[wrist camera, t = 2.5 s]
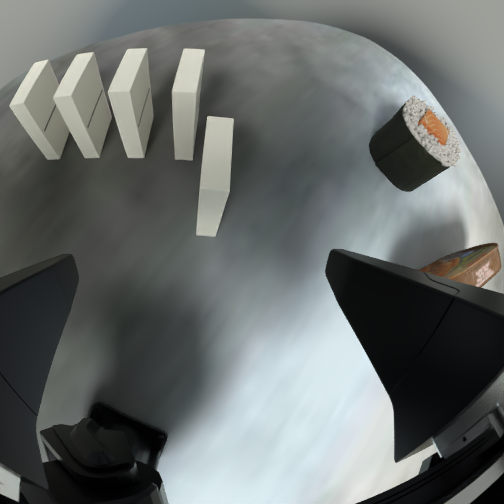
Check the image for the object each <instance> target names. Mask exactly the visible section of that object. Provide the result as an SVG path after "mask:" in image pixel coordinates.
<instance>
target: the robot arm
mask: <svg viewBox="0 0 504 504" xmlns="http://www.w3.org/2000/svg"><path fill="white" fill-rule="evenodd" d="M325 274H326V277H327V279H328V282H329V284H330V286H331V288H332V291H333V293H334V295H335V298H336V300H337V302H338V304H339V306H340V308H341V310H342V311H343V313H344V315H345V317H346V318H347V320H348V322H349V324H350V325H351V327H352V329H353V331H354V332H355V334H356V336H357V338H358V340H359V341H360V343H361V345H362V347H363V349H364V350H365V352H366V354H367V356H368V358H369V359H370V361H371V363H372V365H373V367H374V369H375V371H376V372H377V374H378V376H379V378H380V380H381V382H382V384H383V386H384V388H385V390H386V391H387V393H388V395H389V397H390V399H391V402H392V405H393V411H394V460H395V462H396V463H397V462H399V461H401V460H403V459H406V458H408V457H410V456H412V455H414V454H416V453H418V452H420V451H421V450H423V449H425V448H427V447H429V446H431V445H433V444H434V446H435V448H436V450H437V452H436V453H435V454H433V455H431V456H430V457H428V458H427V459H425V460H424V461H423V462H422V465H421V468H420V471H419V474H418V475H417V476H415V477H414V478H412V479H410V480H408V481H406V482H404V483H402V484H400V485H398V486H396V487H394V488H392V489H390V490H387V491H385V492H383V493H381V494H378V495H376V496H374V497H371V498H369V499H366V500H364V501H361V502H359V503H356V504H504V294H502V293H498V292H495V291H491V290H488V289H484V288H480V287H477V286H473V285H469V284H465V283H462V282H458V281H454V280H451V279H447V278H444V277H440V276H437V275H433V274H430V273H426V272H424V273H423V272H422V271H418V270H415V269H411V268H408V267H405V266H401V265H398V264H394V263H391V262H387V261H383V260H380V259H376V258H373V257H369V256H366V255H362V254H358V253H355V252H351V251H347V250H344V249H332V250H331V251H330V253H329V257H328V261H327V264H326V269H325ZM78 282H79V275H78V271H77V267H76V264H75V260H74V257H73V255H71V254H62V255H59V256H56V257H53V258H51V259H48V260H45V261H42V262H40V263H37V264H34V265H32V266H29V267H26V268H24V269H21V270H19V271H16V272H13V273H11V274H8V275H6V276H3V277H1V278H0V504H168V500H167V497H166V493H165V489H164V485H163V481H162V479H161V476H160V474H159V472H158V471H157V466H158V462H159V458H160V456H161V453H162V451H163V448H164V446H165V443H166V441H167V433H166V432H164V431H162V430H160V429H157V428H155V427H152V426H150V425H148V424H145V423H143V422H141V421H139V420H136V419H134V418H132V417H130V416H128V415H125V414H123V413H121V412H119V411H117V410H115V409H113V408H111V407H109V406H107V405H105V404H103V403H101V402H97V403H95V404H94V406H93V409H92V412H91V415H90V419H89V418H83V419H82V420H81V421H80V422H79V423H78V424H75V425H73V426H70V425H63V424H59V425H53V427H50V428H47V429H45V430H42V431H40V435H41V438H42V442H43V445H44V449H45V452H46V455H47V458H48V461H49V462H44V463H42V459H41V454H40V450H39V445H38V440H37V434H36V422H37V416H38V412H39V408H40V404H41V400H42V396H43V392H44V388H45V384H46V381H47V377H48V374H49V371H50V367H51V364H52V361H53V358H54V355H55V352H56V349H57V346H58V343H59V340H60V337H61V335H62V332H63V329H64V326H65V324H66V321H67V319H68V316H69V313H70V310H71V307H72V303H73V299H74V296H75V292H76V289H77V285H78ZM97 406H100V407H101V409H102V410H99V409H98V408H97ZM159 435H163V436H164V438H160V437H159Z"/></svg>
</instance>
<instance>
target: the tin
mask: <svg viewBox="0 0 504 504" xmlns="http://www.w3.org/2000/svg"><path fill="white" fill-rule="evenodd" d="M500 269H501V260H500V255H499V250H498V244H497V243H488V244H483V245H479V246H475V247H471V248H468V249H465V250H462V251H459V252H456V253H453V254H450V255H448V256H446V257H444V258H442V259H440V260H438V261H436V262H434V263H432V264H430V265H428V266H426V267H424V268H422V269H420V270H418V271H422V272H423V273H424V272H426V273H430V274H433V275H437V276H440V277H444V278H447V279H451V280H454V281H458V282H462V283H465V284H469V285H473V286H477V287H480V288H481V287H482V286H484V285H485V284H486V283H487V282H488V281H489V280H490V279H491V278H492V277H493V276H495V275H496V274H497V273H498V272H499V271H500Z"/></svg>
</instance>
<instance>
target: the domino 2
mask: <svg viewBox="0 0 504 504" xmlns="http://www.w3.org/2000/svg"><path fill="white" fill-rule="evenodd" d="M53 99H54V101H55V103H56V105H57V107H58V109H59V111H60V113H61V115H62V117H63V119H64V121H65V123H66V125H67V127H68V129H69V130H70V132H71V134H72V136H73V138H74V140H75V141H76V143H77V145H78V147H79V149H80V150H81V152H82V154H83V156H84V157H85V158H100V155H101V151H102V148H103V144H104V141H105V137H106V134H107V131H108V128H109V125H110V122H111V118H112V115H111V112H110V109H109V105H108V102H107V99H106V95H105V92H104V88H103V85H102V81H101V77H100V74H99V70H98V66H97V62H96V58H95V54H94V52H91V53H84V54H77V55H76V57H75V59H74V60H73V62H72V64H71V65H70V67H69V69H68V70H67V72H66V74H65V76H64V78H63V79H62V81H61V83H60V85H59V87H58V89H57V91H56V93H55V95H54V97H53Z"/></svg>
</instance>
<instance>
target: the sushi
mask: <svg viewBox="0 0 504 504" xmlns="http://www.w3.org/2000/svg"><path fill="white" fill-rule="evenodd" d="M433 109H434V107H432V106H431V107H430V106H427V105H426V101H421V100H420V99H417V98H416V97H415V96H412V97H411V99H408V101H407V102H405V104H404V105H403V106H402V107H401V108H400V110H399V111H398V112H397V113H396V114H395V115H394V116H393V118H392V119H391V120H390V121H388V122H387V123H386V124H385V125H384V126H383V127H382V128H380V129H379V130H378V131H377V132H376V134H375V135H374V136H373V137H372V139H371V141H370V144H369V147H370V153H371V155H372V157H373V160H374V161H375V163H376V166H377V167H378V168H379V169H380V170H381V171H382V172H383V173H384V175H385V176H386V177H387V178H388V179H389V180H390V182H392V183H393V184H394V185H395V186H396V187H397V188H399V189H401V190H403V191H407V192H408V191H413V190H414V189H416V188H417V187H419V186H421V185H422V184H424V183H425V182H427V181H429V180H430V179H432V178H433V177H435V176H437V175H438V174H440V173H441V172H443V171H444V170H446V169H448V168H449V167H450V166H452V165H453V166H456V165H457V164H456V163H455V162H456V161H457V160H459V159H460V157H459V155H458V154H457V152H458V153H460V152H461V151H460V149H461V148H460V147H459V146H458V145H459V142H458V139H457V138H455V136H454V135H456V133H455V132H454V131H451V130H452V127H451V126H450V127H449V124H447V123H446V119H445V118H444V117H443V118H442V117H440V116H439V115H437V113H436V112H432V110H433Z"/></svg>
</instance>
